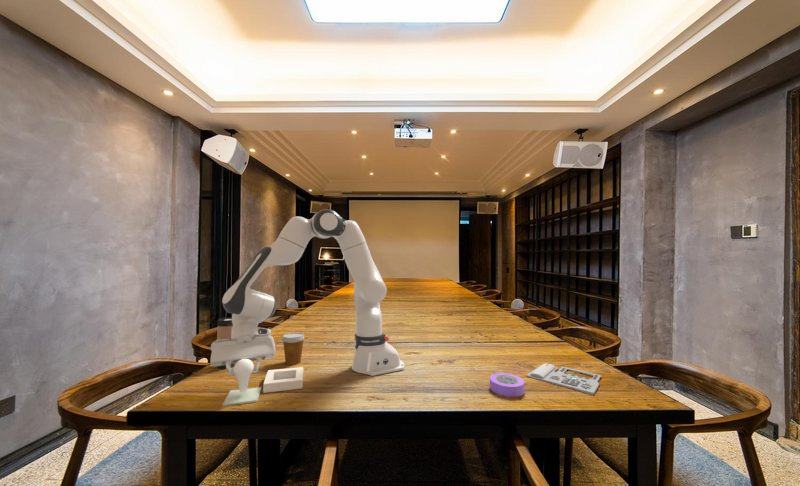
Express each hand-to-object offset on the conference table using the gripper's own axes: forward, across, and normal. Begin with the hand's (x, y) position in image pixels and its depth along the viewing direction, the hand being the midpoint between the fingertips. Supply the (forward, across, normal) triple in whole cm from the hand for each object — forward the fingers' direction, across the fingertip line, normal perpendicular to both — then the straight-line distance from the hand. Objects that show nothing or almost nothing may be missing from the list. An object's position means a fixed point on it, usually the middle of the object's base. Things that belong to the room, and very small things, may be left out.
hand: (244, 373), depth 103 cm
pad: (+5, 0, +6) cm, 8 cm away
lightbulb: (+4, 0, +5) cm, 7 cm away
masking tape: (+30, +85, -18) cm, 92 cm away
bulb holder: (+1, +14, +10) cm, 17 cm away
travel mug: (-19, -7, +31) cm, 37 cm away
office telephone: (+32, +114, -19) cm, 120 cm away
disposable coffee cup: (-14, +19, +25) cm, 35 cm away
